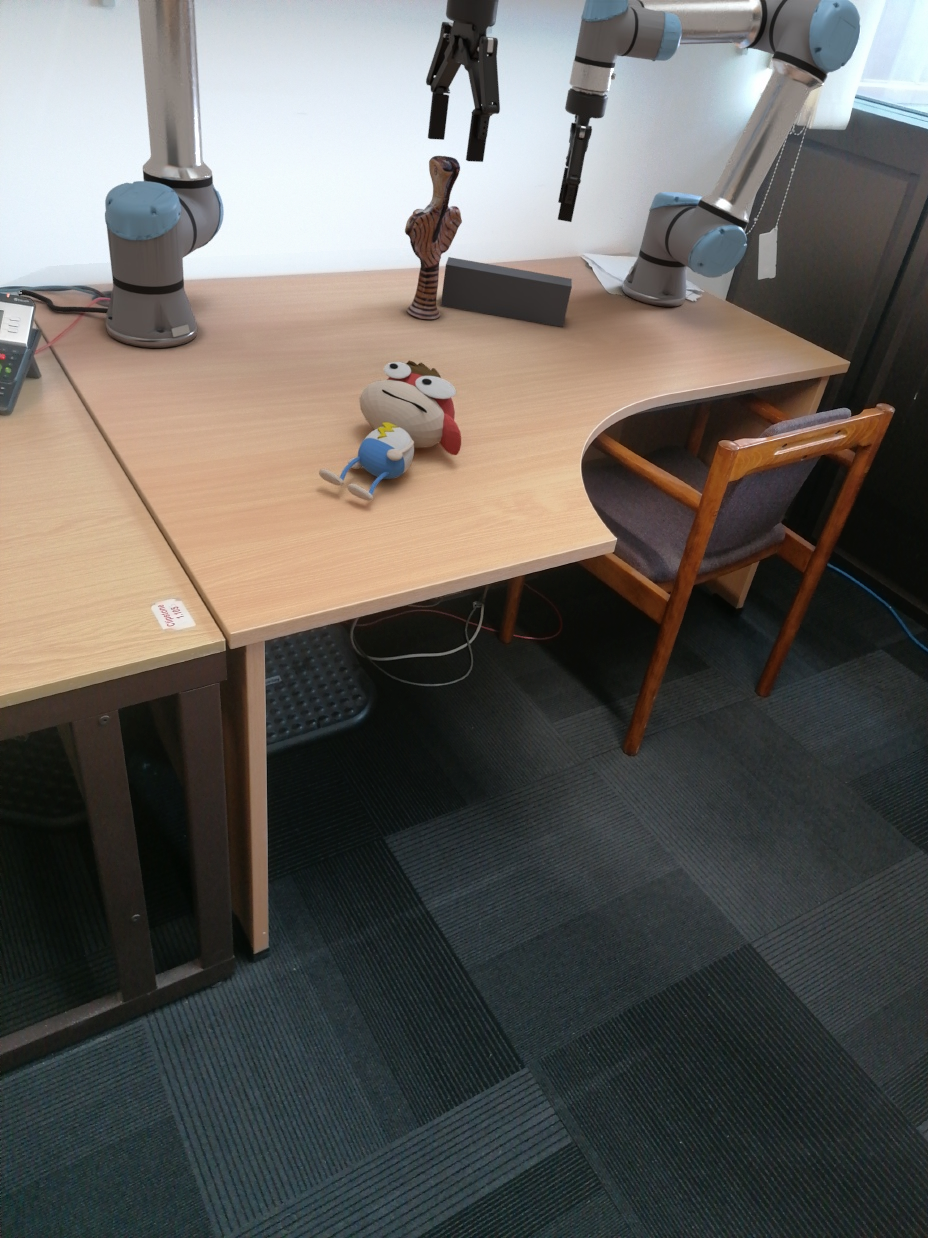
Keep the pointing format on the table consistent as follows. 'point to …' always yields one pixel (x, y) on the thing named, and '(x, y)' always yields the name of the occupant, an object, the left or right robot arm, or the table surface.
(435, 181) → the figurine
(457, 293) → the bar
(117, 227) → the left robot arm
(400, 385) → the toy
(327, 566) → the table surface
